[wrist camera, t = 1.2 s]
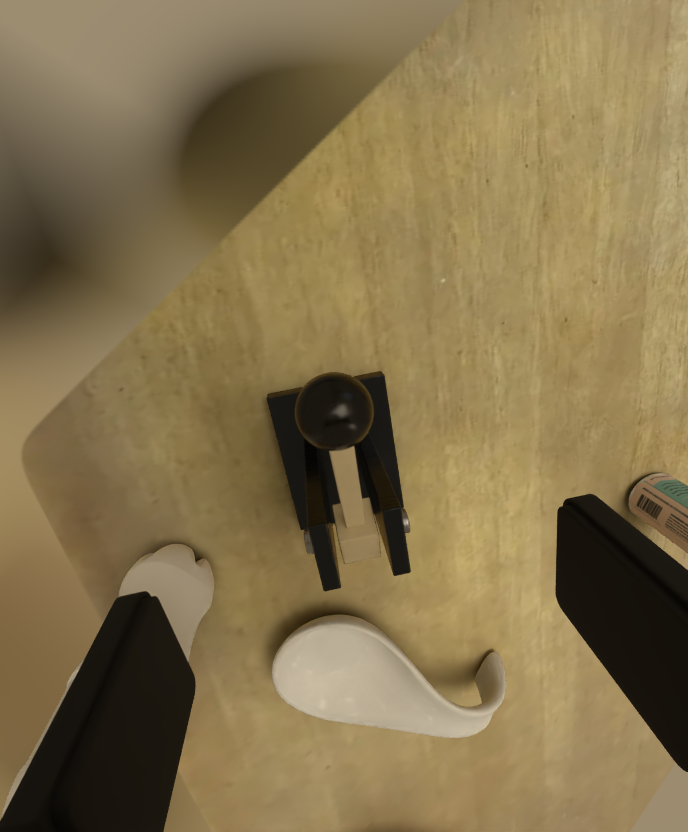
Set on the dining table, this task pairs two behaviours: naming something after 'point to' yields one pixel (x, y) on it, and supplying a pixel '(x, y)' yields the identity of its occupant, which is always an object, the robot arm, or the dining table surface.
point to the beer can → (663, 506)
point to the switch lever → (342, 454)
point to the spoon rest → (375, 681)
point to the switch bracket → (319, 488)
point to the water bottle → (179, 596)
